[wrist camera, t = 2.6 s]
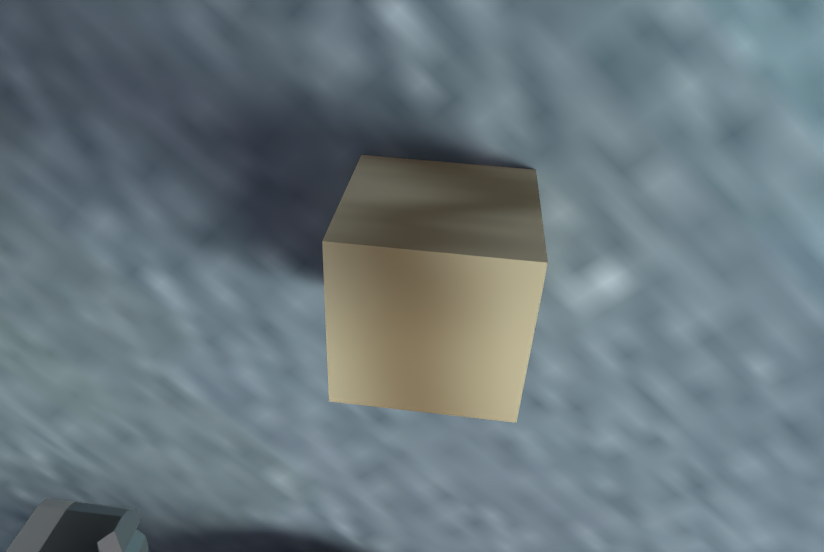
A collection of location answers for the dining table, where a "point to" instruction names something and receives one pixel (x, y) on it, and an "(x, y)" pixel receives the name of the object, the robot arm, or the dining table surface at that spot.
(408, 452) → the dining table surface
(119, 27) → the dining table surface
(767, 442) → the dining table surface
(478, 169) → the oak cube
